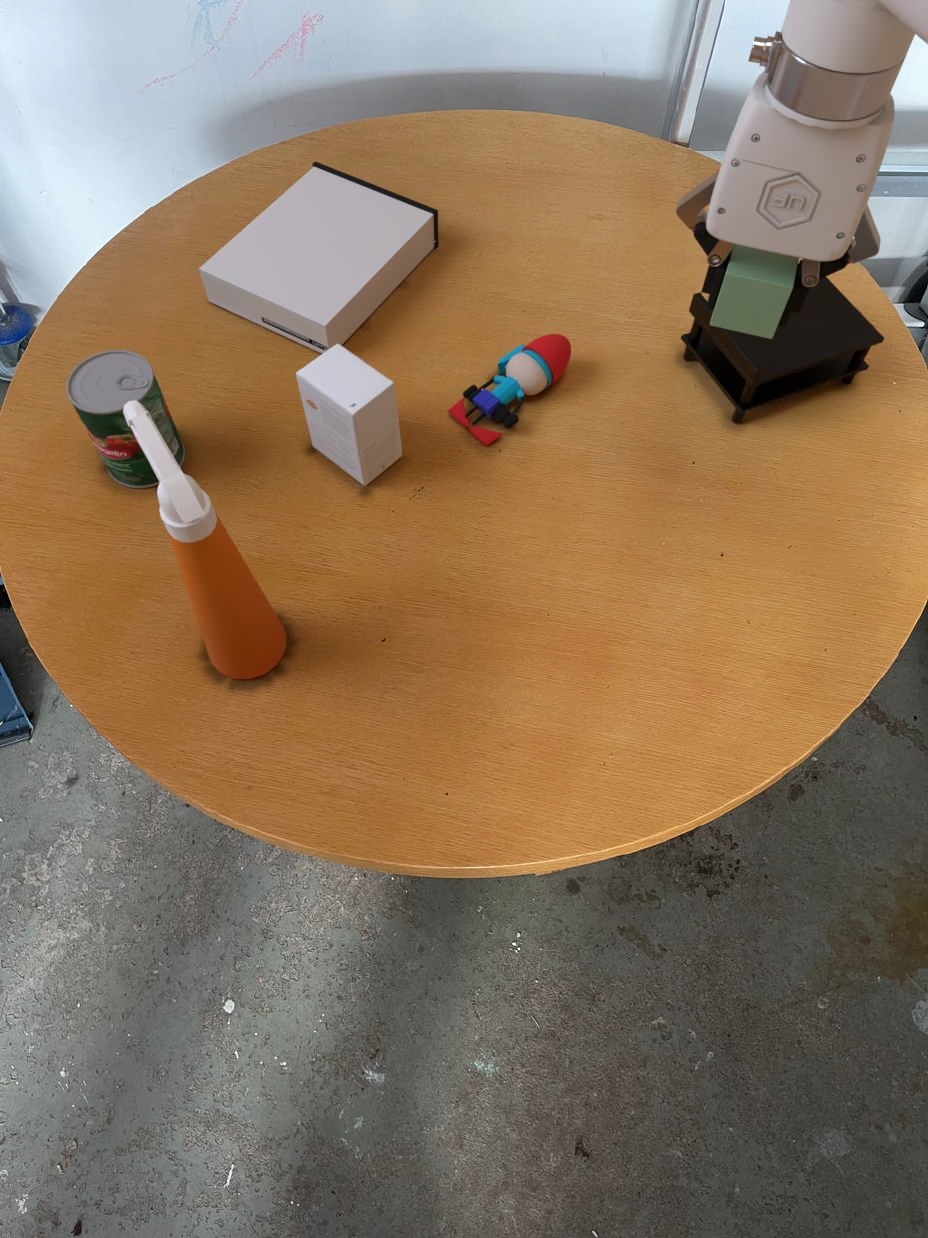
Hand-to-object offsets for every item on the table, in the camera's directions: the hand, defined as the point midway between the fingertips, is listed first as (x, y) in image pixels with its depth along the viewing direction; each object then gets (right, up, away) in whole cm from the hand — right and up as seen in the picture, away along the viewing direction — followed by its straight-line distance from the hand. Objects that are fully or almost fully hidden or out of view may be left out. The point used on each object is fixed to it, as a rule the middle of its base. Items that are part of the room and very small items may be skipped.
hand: (747, 305), depth 69 cm
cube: (0, 0, +1) cm, 1 cm away
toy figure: (-17, -1, +24) cm, 30 cm away
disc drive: (-39, +16, +33) cm, 54 cm away
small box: (-34, -8, +20) cm, 40 cm away
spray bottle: (-43, -26, +10) cm, 52 cm away
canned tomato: (-55, -9, +19) cm, 59 cm away
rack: (+11, +2, +26) cm, 28 cm away
